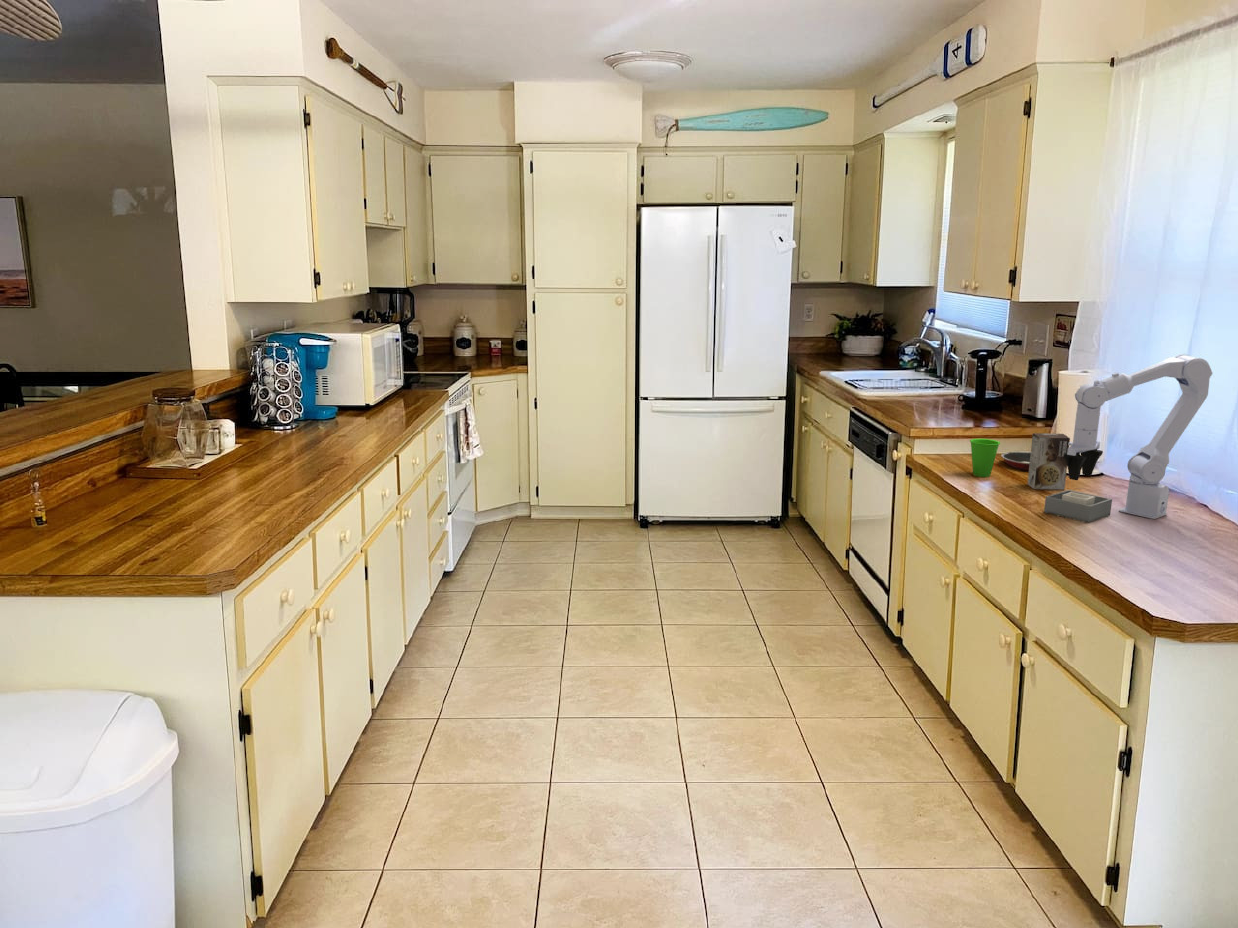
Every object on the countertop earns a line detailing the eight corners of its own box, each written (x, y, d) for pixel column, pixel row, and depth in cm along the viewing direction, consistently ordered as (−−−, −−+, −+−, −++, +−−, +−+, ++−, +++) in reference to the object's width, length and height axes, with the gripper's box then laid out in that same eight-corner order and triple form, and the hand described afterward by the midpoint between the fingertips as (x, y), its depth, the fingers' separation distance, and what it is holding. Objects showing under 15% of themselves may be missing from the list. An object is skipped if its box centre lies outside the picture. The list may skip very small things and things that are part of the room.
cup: (960, 473, 299) (963, 439, 296) (981, 470, 302) (984, 437, 300) (981, 479, 291) (985, 445, 288) (1003, 476, 294) (1006, 442, 292)
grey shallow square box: (1110, 515, 254) (1112, 499, 253) (1088, 522, 246) (1090, 506, 245) (1066, 505, 263) (1067, 489, 262) (1043, 512, 256) (1045, 496, 255)
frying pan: (1048, 460, 317) (1050, 450, 316) (1089, 484, 286) (1090, 472, 285) (992, 459, 318) (993, 449, 318) (1026, 483, 287) (1027, 471, 287)
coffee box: (1057, 484, 285) (1063, 433, 281) (1065, 490, 279) (1071, 437, 275) (1026, 483, 286) (1032, 432, 282) (1033, 489, 280) (1039, 436, 276)
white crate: (1093, 512, 254) (1095, 496, 253) (1084, 515, 251) (1086, 499, 249) (1069, 507, 258) (1071, 491, 257) (1060, 510, 255) (1062, 494, 254)
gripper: (1083, 423, 260) (1078, 470, 263) (1058, 429, 251) (1053, 478, 254) (1109, 427, 255) (1103, 475, 258) (1084, 433, 246) (1078, 483, 249)
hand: (1080, 477), depth 256 cm, fingers open, 7 cm apart
